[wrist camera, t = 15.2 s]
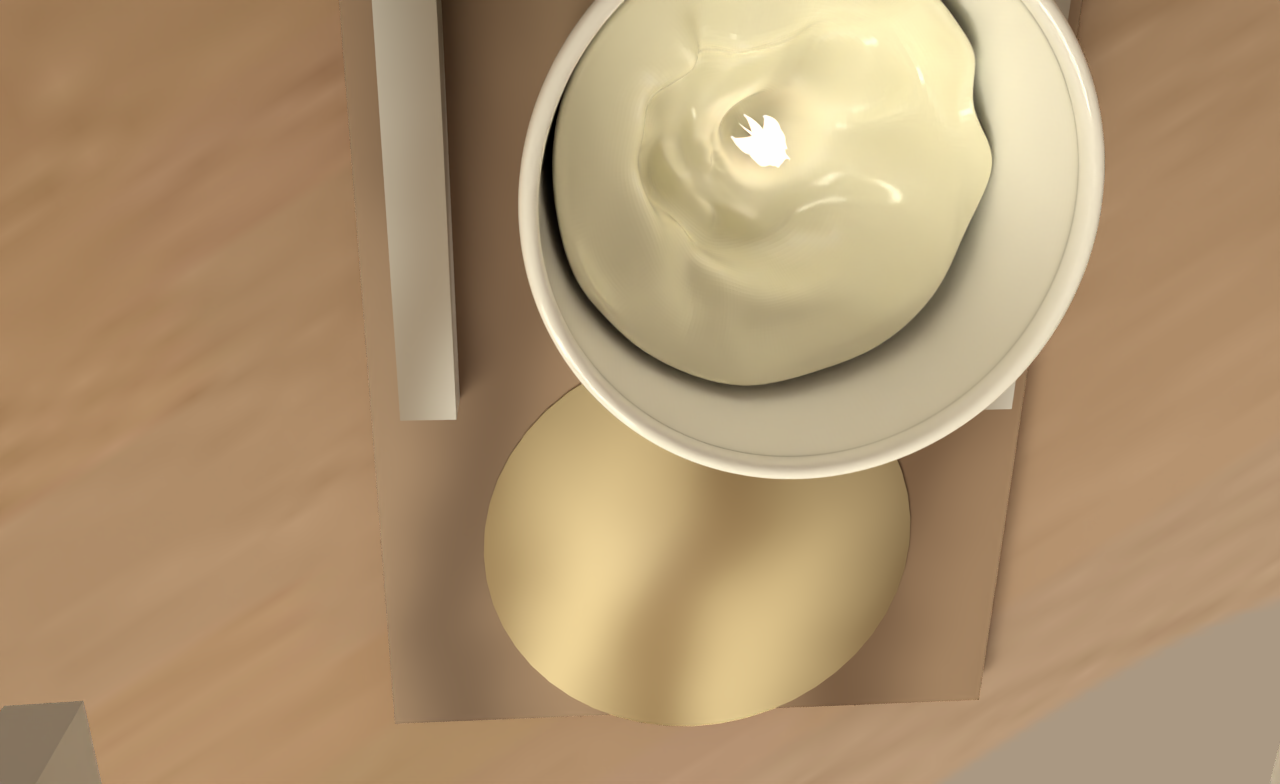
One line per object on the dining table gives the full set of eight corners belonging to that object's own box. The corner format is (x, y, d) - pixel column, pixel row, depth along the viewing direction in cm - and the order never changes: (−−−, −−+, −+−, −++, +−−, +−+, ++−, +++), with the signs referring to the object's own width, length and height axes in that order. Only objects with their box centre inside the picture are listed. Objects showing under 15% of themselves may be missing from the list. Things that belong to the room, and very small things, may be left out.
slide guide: (399, 716, 37) (375, 853, 31) (331, -193, 27) (278, -229, 22) (966, 693, 39) (1038, 819, 33) (1090, -174, 29) (1222, -202, 23)
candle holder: (853, -142, 28) (1064, -200, 17) (927, 233, 32) (1141, 390, 20) (471, -22, 28) (429, 1, 17) (589, 337, 32) (617, 548, 21)
